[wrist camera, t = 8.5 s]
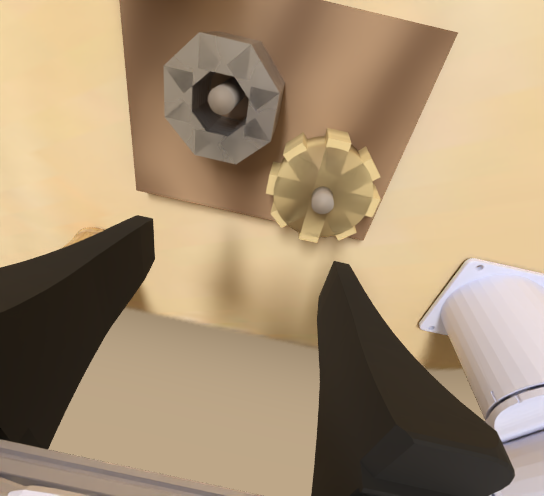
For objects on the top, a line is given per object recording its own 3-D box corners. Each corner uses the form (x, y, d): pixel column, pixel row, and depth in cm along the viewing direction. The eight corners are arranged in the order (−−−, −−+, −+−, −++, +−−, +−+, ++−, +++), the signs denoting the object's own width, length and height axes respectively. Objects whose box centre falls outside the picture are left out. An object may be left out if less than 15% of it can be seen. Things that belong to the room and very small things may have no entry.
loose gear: (291, 48, 15) (287, 53, 12) (271, 150, 18) (264, 171, 16) (188, 23, 15) (162, 22, 12) (186, 130, 18) (165, 148, 15)
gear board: (448, 32, 15) (488, 33, 12) (361, 231, 22) (369, 267, 19) (128, -44, 15) (72, -66, 11) (144, 183, 22) (113, 211, 18)
